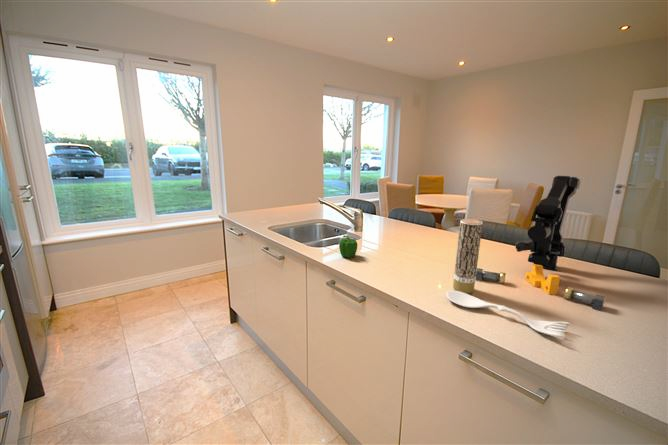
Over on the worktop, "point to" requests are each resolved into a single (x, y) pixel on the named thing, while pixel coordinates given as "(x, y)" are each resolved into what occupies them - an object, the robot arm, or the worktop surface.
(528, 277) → the pipe clamp
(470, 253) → the paper tube
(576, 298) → the shaft
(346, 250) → the bell pepper
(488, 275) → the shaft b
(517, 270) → the worktop surface
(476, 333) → the worktop surface
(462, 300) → the white plastic spork
